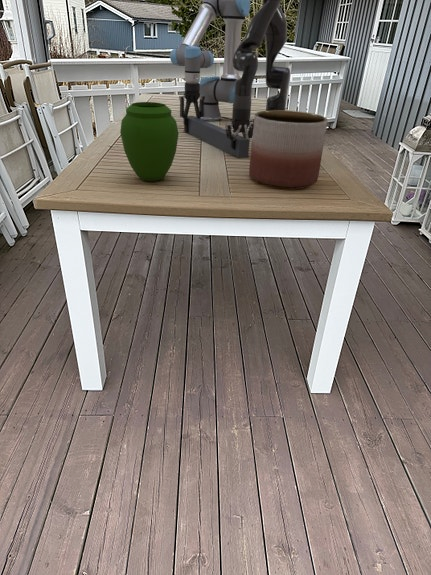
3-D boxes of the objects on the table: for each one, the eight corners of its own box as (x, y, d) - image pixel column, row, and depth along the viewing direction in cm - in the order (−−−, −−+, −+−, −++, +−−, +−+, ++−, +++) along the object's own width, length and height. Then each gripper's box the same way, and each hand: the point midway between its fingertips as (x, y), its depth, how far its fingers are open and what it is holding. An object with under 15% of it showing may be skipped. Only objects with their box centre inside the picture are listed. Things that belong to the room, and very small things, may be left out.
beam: (183, 131, 217) (183, 116, 213) (192, 130, 219) (192, 115, 215) (238, 158, 176) (239, 140, 172) (248, 157, 178) (249, 139, 174)
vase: (131, 189, 135) (125, 110, 122) (118, 172, 150) (112, 100, 137) (186, 184, 142) (187, 109, 129) (169, 168, 157) (167, 99, 144)
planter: (327, 190, 144) (341, 124, 132) (258, 191, 139) (265, 122, 128) (303, 169, 165) (312, 110, 153) (241, 169, 161) (246, 109, 149)
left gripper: (178, 83, 196) (178, 134, 208) (211, 83, 203) (210, 132, 216) (172, 81, 201) (172, 131, 214) (205, 81, 209) (203, 129, 221)
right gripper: (231, 108, 164) (228, 152, 173) (261, 107, 170) (257, 149, 179) (222, 105, 169) (220, 148, 178) (251, 104, 175) (248, 145, 184)
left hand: (191, 131), depth 215 cm, fingers closed on beam, 5 cm apart
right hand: (238, 148), depth 178 cm, fingers closed on beam, 5 cm apart
